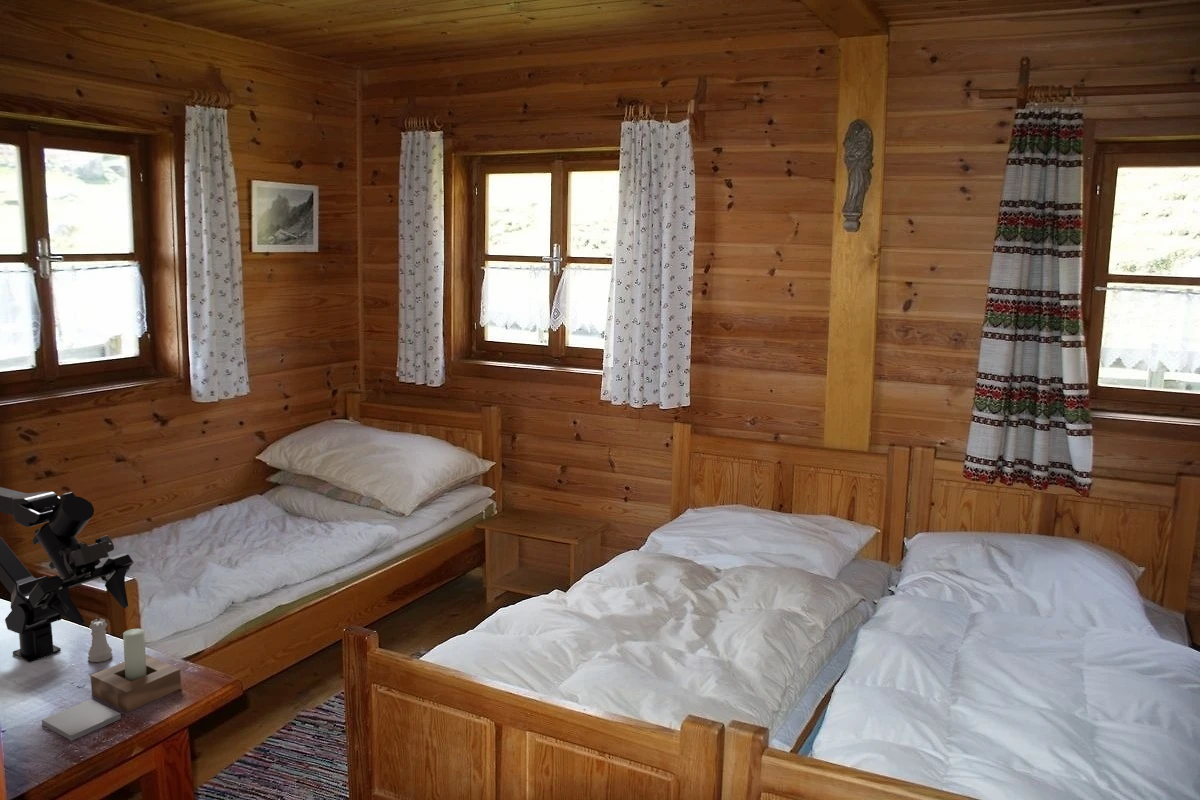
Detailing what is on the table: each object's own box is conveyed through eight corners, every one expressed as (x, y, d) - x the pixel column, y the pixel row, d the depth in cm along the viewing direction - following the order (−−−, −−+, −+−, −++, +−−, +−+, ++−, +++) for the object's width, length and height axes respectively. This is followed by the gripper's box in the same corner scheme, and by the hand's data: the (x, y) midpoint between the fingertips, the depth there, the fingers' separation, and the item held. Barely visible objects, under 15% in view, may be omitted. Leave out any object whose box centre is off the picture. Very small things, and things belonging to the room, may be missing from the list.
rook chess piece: (102, 664, 192) (100, 627, 191) (82, 661, 193) (80, 624, 192) (117, 654, 197) (115, 618, 195) (98, 652, 198) (96, 615, 196)
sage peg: (122, 692, 182) (118, 633, 180) (139, 685, 185) (136, 627, 183) (134, 698, 180) (130, 638, 178) (151, 690, 183) (148, 631, 181)
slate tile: (42, 724, 170) (41, 719, 170) (91, 703, 178) (90, 698, 177) (71, 740, 165) (71, 735, 165) (120, 718, 173) (120, 713, 173)
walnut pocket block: (91, 694, 181) (90, 675, 180) (145, 672, 190) (144, 653, 189) (127, 712, 175) (126, 692, 175) (180, 688, 185) (180, 669, 184)
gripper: (33, 540, 175) (77, 611, 172) (125, 513, 191) (166, 578, 188) (10, 572, 179) (51, 641, 177) (101, 544, 196) (140, 606, 193)
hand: (105, 615), depth 184 cm, fingers open, 9 cm apart
